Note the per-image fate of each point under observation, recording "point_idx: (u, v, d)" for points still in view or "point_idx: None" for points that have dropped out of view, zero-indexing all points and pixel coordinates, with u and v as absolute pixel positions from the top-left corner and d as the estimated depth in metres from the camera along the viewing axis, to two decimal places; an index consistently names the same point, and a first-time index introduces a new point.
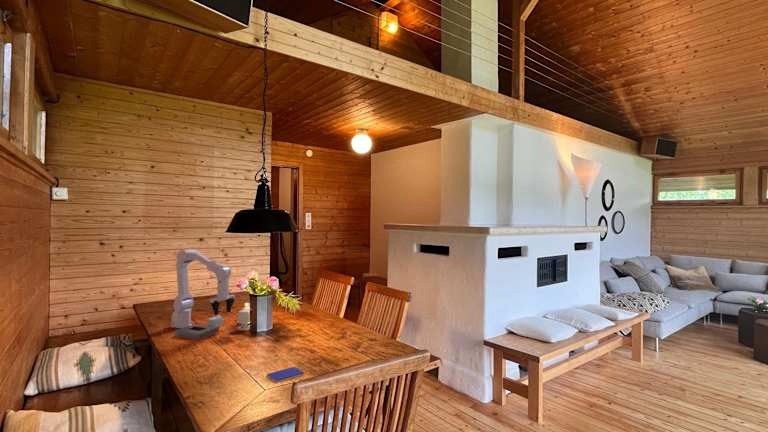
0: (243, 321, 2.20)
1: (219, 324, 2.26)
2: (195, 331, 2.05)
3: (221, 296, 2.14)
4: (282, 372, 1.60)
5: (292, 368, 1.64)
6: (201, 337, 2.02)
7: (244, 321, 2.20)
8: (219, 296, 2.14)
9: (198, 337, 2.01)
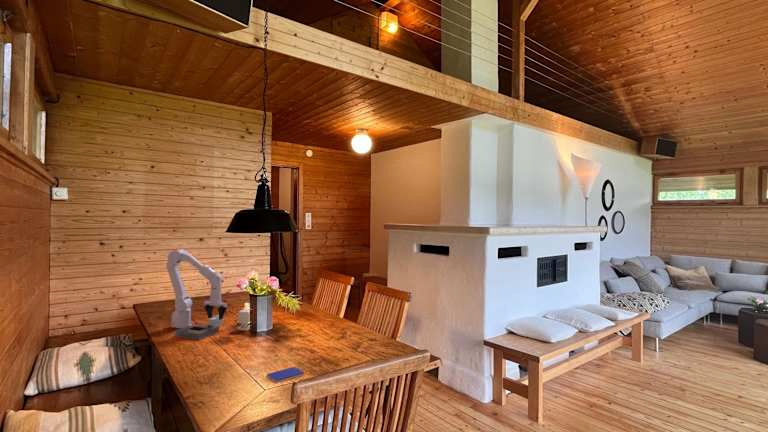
0: (243, 321, 2.20)
1: (219, 324, 2.26)
2: (195, 331, 2.05)
3: (210, 301, 2.25)
4: (282, 372, 1.60)
5: (292, 368, 1.64)
6: (201, 337, 2.02)
7: (244, 321, 2.20)
8: None
9: (198, 337, 2.01)
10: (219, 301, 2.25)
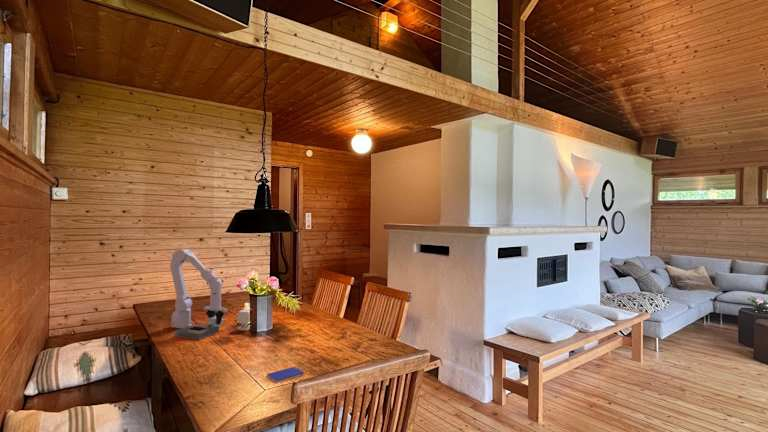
0: (243, 321, 2.20)
1: (219, 324, 2.26)
2: (195, 331, 2.05)
3: (210, 306, 2.25)
4: (282, 372, 1.60)
5: (292, 368, 1.64)
6: (201, 337, 2.02)
7: (244, 321, 2.20)
8: None
9: (198, 337, 2.01)
10: (219, 306, 2.25)
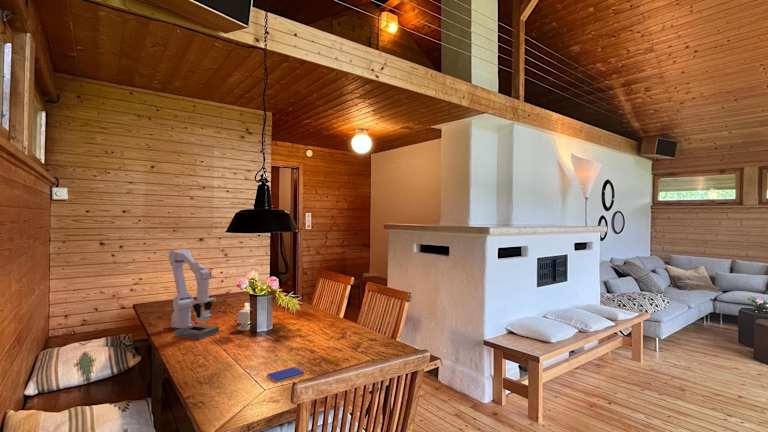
0: (243, 321, 2.20)
1: None
2: (195, 331, 2.05)
3: (200, 299, 2.11)
4: (282, 372, 1.60)
5: (292, 368, 1.64)
6: (201, 337, 2.02)
7: (244, 321, 2.20)
8: (198, 299, 2.11)
9: (198, 337, 2.01)
10: None
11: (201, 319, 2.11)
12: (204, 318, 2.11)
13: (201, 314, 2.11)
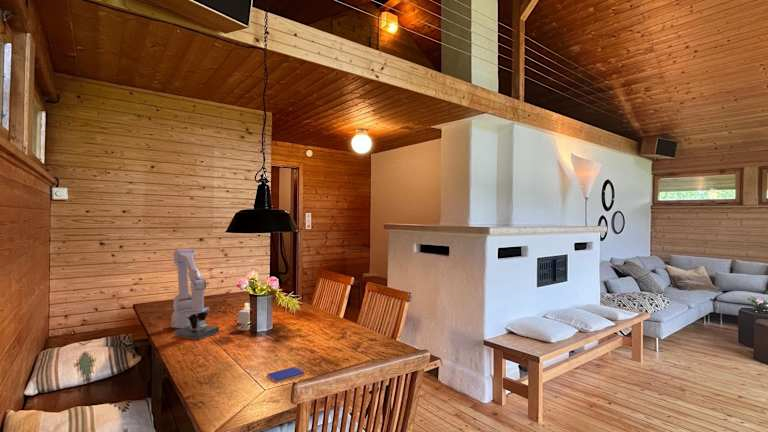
0: (243, 321, 2.20)
1: None
2: (195, 331, 2.05)
3: (197, 309, 2.08)
4: (282, 372, 1.60)
5: (292, 368, 1.64)
6: (201, 337, 2.02)
7: (244, 321, 2.20)
8: (195, 310, 2.07)
9: (198, 337, 2.01)
10: None
11: (198, 330, 2.08)
12: (201, 329, 2.08)
13: (198, 325, 2.08)
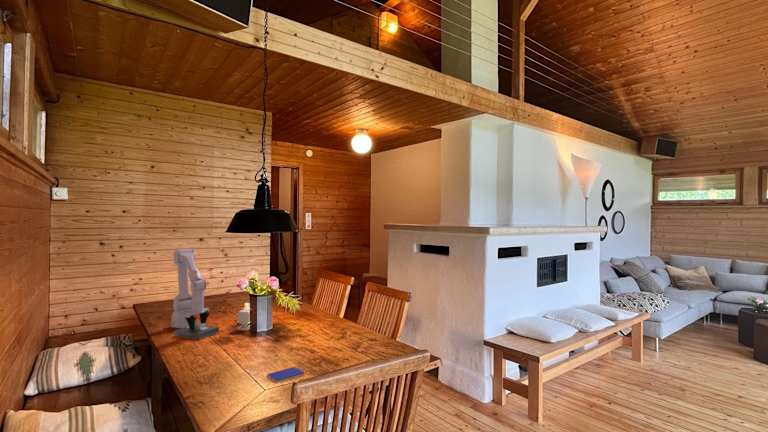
0: (243, 321, 2.20)
1: None
2: (195, 331, 2.05)
3: (197, 310, 2.08)
4: (282, 372, 1.60)
5: (293, 368, 1.64)
6: (201, 337, 2.02)
7: (244, 321, 2.20)
8: (195, 310, 2.07)
9: (198, 337, 2.01)
10: None
11: None
12: None
13: (198, 328, 2.08)
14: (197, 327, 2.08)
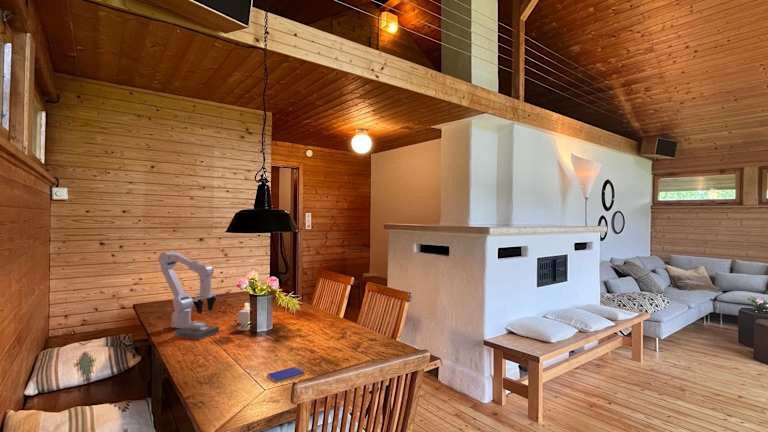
0: (243, 321, 2.20)
1: None
2: (195, 331, 2.05)
3: (204, 295, 2.18)
4: (282, 372, 1.60)
5: (293, 368, 1.64)
6: (201, 337, 2.02)
7: (244, 321, 2.20)
8: (202, 295, 2.18)
9: (198, 337, 2.01)
10: None
11: None
12: None
13: (198, 328, 2.08)
14: (197, 327, 2.08)
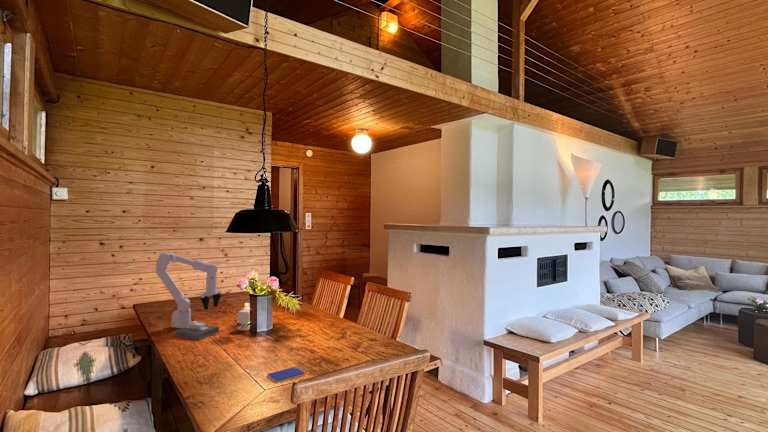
0: (243, 321, 2.20)
1: None
2: (195, 331, 2.05)
3: (211, 291, 2.28)
4: (283, 372, 1.60)
5: (293, 368, 1.64)
6: (201, 337, 2.02)
7: (244, 321, 2.20)
8: (208, 291, 2.28)
9: (198, 337, 2.01)
10: None
11: None
12: None
13: (198, 328, 2.08)
14: (197, 327, 2.08)
